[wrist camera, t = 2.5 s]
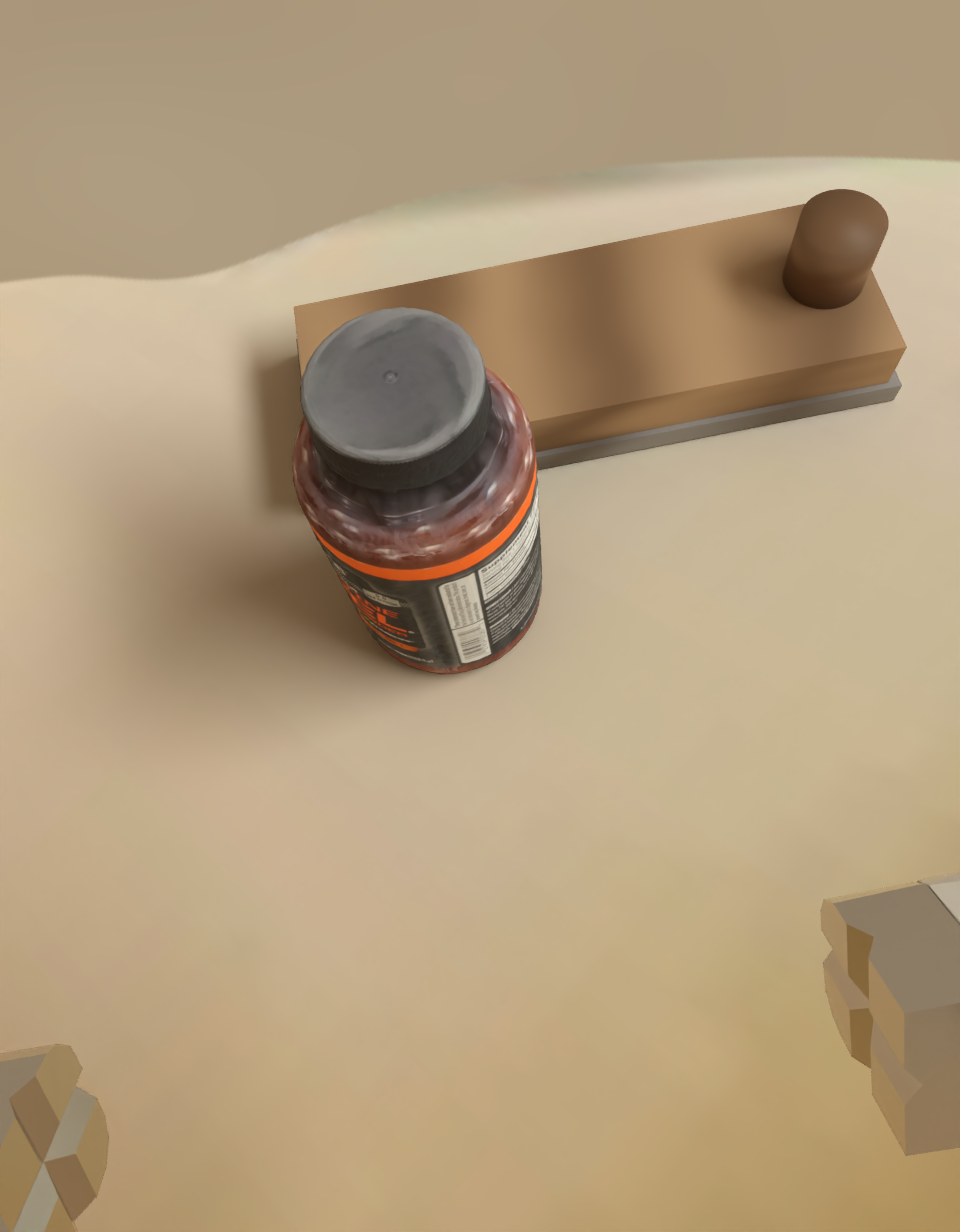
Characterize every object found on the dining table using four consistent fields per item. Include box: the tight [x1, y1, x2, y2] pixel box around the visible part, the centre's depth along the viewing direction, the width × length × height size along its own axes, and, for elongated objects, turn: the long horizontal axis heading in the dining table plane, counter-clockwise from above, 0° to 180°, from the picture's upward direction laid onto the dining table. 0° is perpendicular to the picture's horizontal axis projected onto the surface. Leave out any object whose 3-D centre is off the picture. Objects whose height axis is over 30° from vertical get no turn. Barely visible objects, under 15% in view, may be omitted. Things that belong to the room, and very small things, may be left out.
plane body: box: [294, 189, 907, 470], centre depth 30 cm, size 20×7×5 cm, turn 100°
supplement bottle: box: [293, 307, 542, 674], centre depth 24 cm, size 6×6×11 cm
